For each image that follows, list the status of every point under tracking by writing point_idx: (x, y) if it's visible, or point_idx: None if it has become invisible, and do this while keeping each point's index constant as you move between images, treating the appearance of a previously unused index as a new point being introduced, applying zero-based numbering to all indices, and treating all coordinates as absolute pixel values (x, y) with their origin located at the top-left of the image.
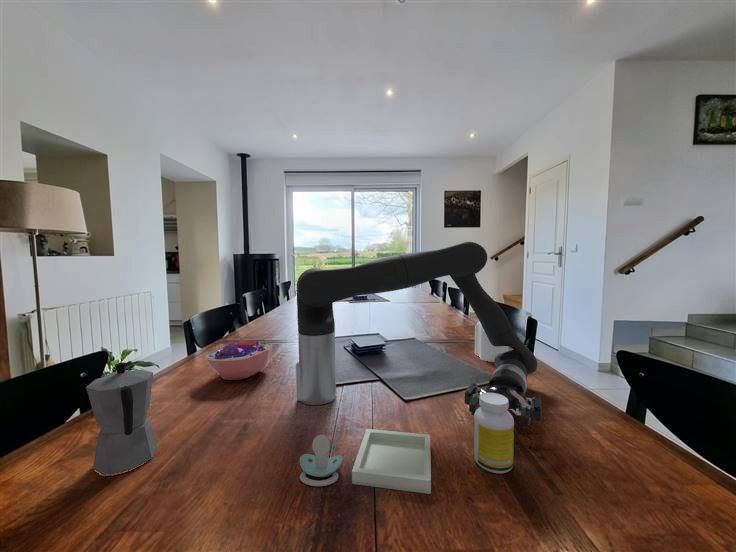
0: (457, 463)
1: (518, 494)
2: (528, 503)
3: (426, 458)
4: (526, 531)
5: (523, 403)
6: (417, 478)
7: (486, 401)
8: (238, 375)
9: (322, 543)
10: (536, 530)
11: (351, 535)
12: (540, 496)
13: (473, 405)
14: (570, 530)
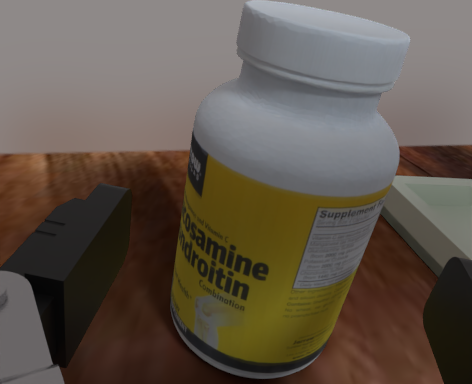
0: (365, 292)
1: (172, 221)
2: (152, 204)
3: (442, 222)
4: (173, 163)
5: (7, 346)
6: (410, 177)
7: (351, 16)
8: None
9: (442, 146)
10: (153, 165)
11: (423, 152)
12: None
13: (468, 260)
14: (78, 168)
